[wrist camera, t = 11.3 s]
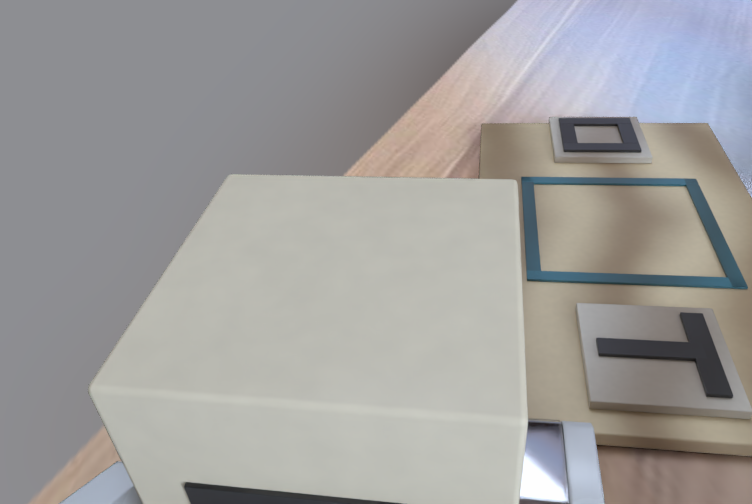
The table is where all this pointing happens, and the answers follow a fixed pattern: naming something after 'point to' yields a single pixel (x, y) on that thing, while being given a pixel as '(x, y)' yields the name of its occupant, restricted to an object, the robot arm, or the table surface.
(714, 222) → the word board
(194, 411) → the letter block
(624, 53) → the table surface
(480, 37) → the table surface
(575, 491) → the robot arm
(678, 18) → the table surface
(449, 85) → the table surface
